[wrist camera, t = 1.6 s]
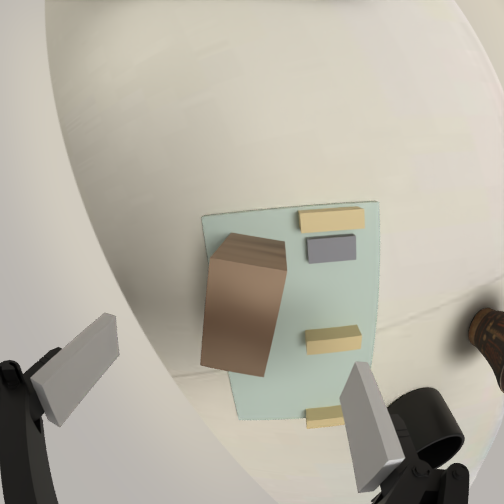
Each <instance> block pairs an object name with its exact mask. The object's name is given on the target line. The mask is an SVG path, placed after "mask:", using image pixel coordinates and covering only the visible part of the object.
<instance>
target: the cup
mask: <svg viewBox="0 0 504 504" xmlns="http://www.w3.org/2000/svg"><path fill="white" fill-rule="evenodd" d="M469 340H470V342H471V344H472V345H474V346H476V347H477V348H478V350H479V351H480V352H481V353H482V354H483V356H484V357H485V358H486V360H487V361H488V363H489V364H490V366H491V368H492V369H493V371H494V374H495V376H496V379H497V382H498V385H499V387H500V389H501V391H502V392H503V393H504V312H501V311H496V310H493V309H491V308H484V309H482V310H480V311H479V312H478V313H477V314H476V316H475V317H474V319H473V321H472V323H471V325H470V329H469Z"/></svg>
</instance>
